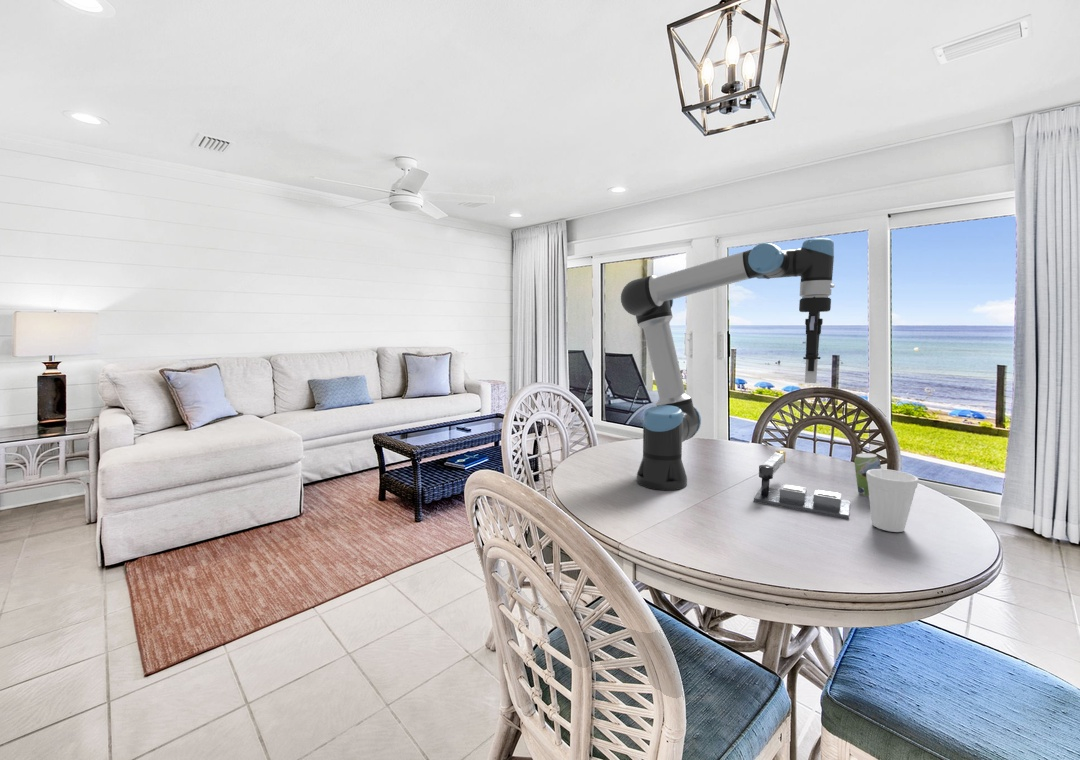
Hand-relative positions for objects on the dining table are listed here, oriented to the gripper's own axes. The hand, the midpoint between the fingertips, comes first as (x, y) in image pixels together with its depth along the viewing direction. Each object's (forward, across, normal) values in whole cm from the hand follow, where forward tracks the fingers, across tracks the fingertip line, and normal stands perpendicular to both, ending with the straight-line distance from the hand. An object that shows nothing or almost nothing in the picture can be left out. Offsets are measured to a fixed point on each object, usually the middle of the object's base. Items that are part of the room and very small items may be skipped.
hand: (810, 382), depth 133 cm
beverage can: (+33, +9, -15) cm, 37 cm away
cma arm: (+27, +1, +8) cm, 28 cm away
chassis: (+32, -8, 0) cm, 33 cm away
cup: (+33, -15, -19) cm, 41 cm away
